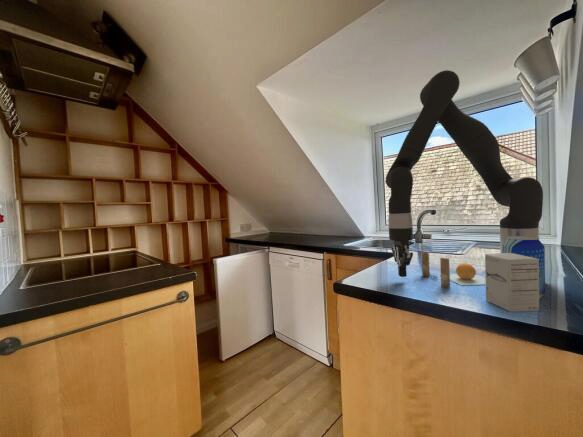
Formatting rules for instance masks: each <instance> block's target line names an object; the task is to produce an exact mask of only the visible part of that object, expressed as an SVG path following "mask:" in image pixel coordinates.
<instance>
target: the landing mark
mask: <svg viewBox="0 0 583 437" xmlns="http://www.w3.org/2000/svg"><path fill="white" fill-rule="evenodd" d="M439 276H440V277H441V274H440V275H439ZM450 282H453V283H456V284H458V285H459V286H461V287H463V286H486V277H484V276H481V275H479V274H476V275H475V277H474V278H472V279H470V280H465V279H462V278H460V277H459V276H458V275H457V273H456V274H455V273H454V274H453V273H452V274H450Z"/></svg>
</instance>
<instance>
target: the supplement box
mask: <svg viewBox="0 0 583 437" xmlns="http://www.w3.org/2000/svg"><path fill="white" fill-rule="evenodd" d="M484 268H485V270H484V272H485V273H484V274H485V278H486V285H485V301H487V302H489V303H492V304H494V305H496V306H498V307H500V308H501V309H504V310H506V311H507V312H510V313H511V312H533V311H534V312H535V311H540V298H539V259H537V258H532V257H528V256H523V255H518V254H514V253H486V254H485V255H484Z"/></svg>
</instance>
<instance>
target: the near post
mask: <svg viewBox="0 0 583 437" xmlns="http://www.w3.org/2000/svg"><path fill="white" fill-rule="evenodd" d="M439 260H440V261H439V262H440V266H439V267H440V275H441V276H440V286H441V287H442V288H447V289H448V288H451V280H450V273H451V272H450V269H451V268H450V258H449V257H440V258H439Z"/></svg>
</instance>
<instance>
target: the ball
mask: <svg viewBox="0 0 583 437" xmlns="http://www.w3.org/2000/svg"><path fill="white" fill-rule="evenodd" d="M476 271H477V270H476V268H475V267H474V266H473V265H472V264H470V263H466V262H465V263H461V264H460V263H459V264H458V265H457V266H456V269H455V273H456V274H457V275H458V276H459V277H460V278H462V279H465V280H470V279H472V278H474V277H475V275H477V274H476V273H477V272H476Z"/></svg>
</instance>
